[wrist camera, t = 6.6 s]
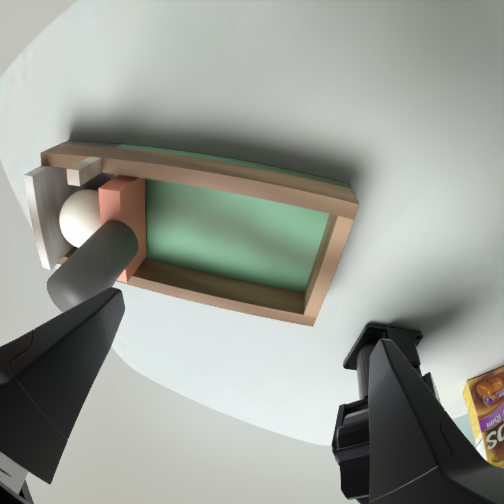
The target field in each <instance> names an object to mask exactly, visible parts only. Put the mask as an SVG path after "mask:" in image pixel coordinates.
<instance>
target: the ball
mask: <svg viewBox="0 0 504 504" xmlns="http://www.w3.org/2000/svg"><path fill="white" fill-rule="evenodd" d="M59 223H60V228H61V231H62V234H63V235H64V237H65V238H66V240H67V241H68V242H69V243H71V244H72V245H74V246H76V247H78V248H79V247H80V246H81V245H82V244H83V243H84V242H85V241H86V240H87V239H88V238H89V237H90V236H91V235H92V234H94V233H95V232H96V231H97V230H98V229H99V228H100V227H101V216H100V204H99V192H98V191H95V190H90V189H86V190H80V191H78V192H75V193H74V194H72V195H71V196H70V197H69V198H68V199H67V200H66V201H65V203H64V204H63V206H62V209H61V212H60V217H59Z"/></svg>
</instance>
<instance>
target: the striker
mask: <svg viewBox="0 0 504 504" xmlns="http://www.w3.org/2000/svg"><path fill="white" fill-rule="evenodd" d="M98 190H99V204H100V216H101V227H100V228H99V229H98V230H97V231H96V232H95V233H94V234H92V235H91V236H90V237H89V238H88V239H87V240H86V241H85V242H84V243H83V244H82V245H81V246H80V247H79V248H78V249H77V250H76V251H75V252H74V253H73V254H72V255H71V256H70V257H69V258H68V259H67V260H66V261H65V262H64V263H63V264H62V265H61V266H60V267H59V268H58V269H57V270H56V271H55V272H54V274H53V275H52V276H51V277H50V278H49V279H48V281H47V290H48V293H49V295H50V297H51V299H52V301H53V302H54V304H55V305H56V306H57V307H58V308H59V309H60V310H61V311H62V312H63V313H64V312H65V311H67V310H69V309H71V308H73V307H75V306H76V305H78V304H80V303H82V302H84V301H86V300H87V299H89V298H91V297H93V296H95V295H97V294H98V293H100V292H102V291H104V290H106V289H108V288H110V287H112V286H113V284H114V283H115V282H116V280H118V281H122V282H125V283H127V282H128V281H129V280H130V278H131V277H132V275H133V274H134V273H135V271H136V270H137V268H138V267H139V266H140V264H141V263H142V262H143V260H144V259H145V258H146V256H147V250H146V217H145V178H140V177H133V176H126V175H117V176H116V177H114V178H113V179H111V180H110V181H108V182H107V183H105V184H104V185H103V186H101V187H100V188H98Z"/></svg>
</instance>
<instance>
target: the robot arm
mask: <svg viewBox="0 0 504 504" xmlns="http://www.w3.org/2000/svg"><path fill="white" fill-rule="evenodd" d="M124 311H125V305H124V300H123V295H122V291H121V290H120V289H117V288H113V287H110V288H108V289H106V290H104V291H102V292H100V293H98V294H97V295H95V296H93V297H91V298H89V299H87V300H86V301H84V302H82V303H80V304H78V305H76V306H75V307H73V308H71V309H69V310H67V311H65V312H64V313H62V314H60V315H58V316H56V317H55V318H53V319H51V320H49V321H48V322H46V323H44V324H42V325H40V326H39V327H37V328H35V330H32V331H30V332H28V333H26V334H24V335H23V336H21V337H19V338H17V339H15V340H13V341H11V342H9V343H7V344H5V345H3V346H1V347H0V504H34V503H33V500H32V497H31V495H30V492H29V489H28V486H27V483H26V480H25V478H26V476H27V474H28V472H30V473H32V474H33V475H35V476H36V477H38V478H40V479H41V480H43V481H45V482H46V483H48V484H51V482H52V480H53V477H54V474H55V471H56V469H57V466H58V464H59V461H60V458H61V456H62V453H63V451H64V448H65V446H66V444H67V441H68V438H69V436H70V434H71V431H72V429H73V426H74V424H75V422H76V420H77V417H78V415H79V413H80V410H81V408H82V406H83V404H84V402H85V399H86V397H87V395H88V393H89V391H90V388H91V387H92V384H93V382H94V380H95V378H96V376H97V374H98V372H99V370H100V368H101V366H102V364H103V362H104V360H105V358H106V356H107V354H108V352H109V350H110V348H111V345H112V343H113V340H114V338H115V335H116V332H117V330H118V327H119V325H120V322H121V320H122V317H123V315H124ZM369 329H370V330H369ZM422 338H423V334H422V332H421V331H414V330H407V329H400V328H394V327H387V326H380V325H374V324H368V325H366V326H365V328H364V329H363V331H362V333H361V335H360V336H359V338H358V340H357V341H356V343H355V345H354V346H353V348H352V350H351V351H350V353H349V355H348V356H347V358H346V359H345V361H344V363H343V367H344V368H345V369H351V370H357V376H358V386H359V397H360V400H358V401H355V402H352V403H349V404H342V405H340V406H339V411H338V415H337V420H336V426H335V431H334V436H333V441H332V451H333V454H334V456H335V459H336V461H337V463H338V465H339V466H340V472H341V490H342V492H343V494H344V495H345V497H346V498H347V499H348V500H350V499H356V500H357V501H358V502H359V503H360V504H504V468H501V467H497V466H494V465H492V464H490V463H489V462H487V461H486V460H485V459H484V458H483V457H482V456H481V454H480V453H479V452H478V451H477V450H476V449H475V447H474V446H473V445H472V444H471V443H470V441H469V440H468V439H467V438H466V437H465V436H464V434H463V433H462V432H461V431H460V429H459V428H458V427H457V426H456V424H455V423H454V422H453V420H452V419H451V418H450V416H449V415H448V413H447V412H446V411H444V408H443V407H442V405H441V403H440V399H439V395H438V392H437V389H436V386H435V384H434V381H433V378H432V376H431V373H430V372H429V373H427V374H425V376H422V374H421V370H420V364H421V363H420V359H419V356H418V352H417V349H416V346H417V345H418V343H419V342H420V341H421V339H422Z"/></svg>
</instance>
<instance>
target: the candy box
mask: <svg viewBox="0 0 504 504" xmlns="http://www.w3.org/2000/svg"><path fill="white" fill-rule="evenodd" d="M463 395H464V399H465V402H466V406H467V409H468V413H469V417H470V421H471V425H472V430H473V434H474V438H475V444H476V449H477V451H478V452H479V453H480V454H481V456H482V457H483V458H484V459H485V460H486V461H487V462H489V463H490V464H492V465H494V466H497V467H501V468H504V366H503V367H501V368H498V369H496V370H494V371H491V372H489V373H486V374H484V375H481V376H479V377H476V378H474V379H471V380H468V381H467V382H466V386H465V389H464V392H463Z"/></svg>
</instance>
